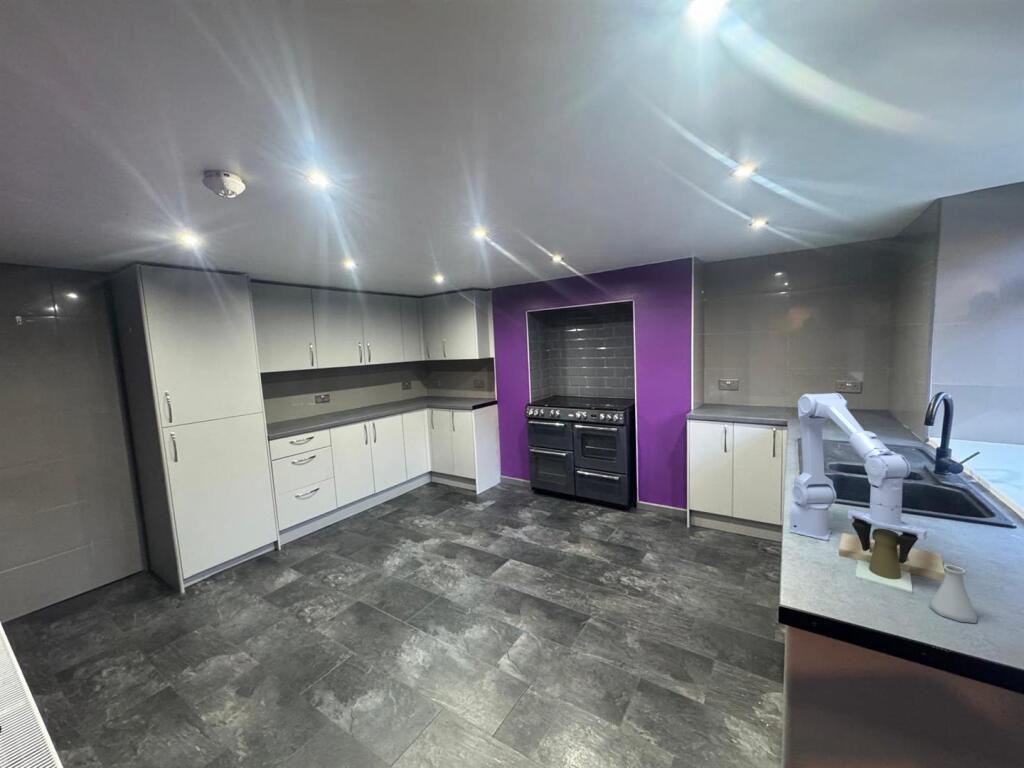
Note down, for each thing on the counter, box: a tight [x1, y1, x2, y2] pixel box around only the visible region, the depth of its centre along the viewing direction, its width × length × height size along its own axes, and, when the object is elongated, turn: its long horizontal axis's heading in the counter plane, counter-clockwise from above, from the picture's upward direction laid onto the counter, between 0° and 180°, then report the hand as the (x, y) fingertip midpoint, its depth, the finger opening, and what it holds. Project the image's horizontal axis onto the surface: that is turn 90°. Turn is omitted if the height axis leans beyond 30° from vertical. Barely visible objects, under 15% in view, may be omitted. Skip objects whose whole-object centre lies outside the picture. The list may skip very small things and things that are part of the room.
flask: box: [928, 564, 978, 624], centre depth 86 cm, size 7×7×10 cm
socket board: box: [838, 532, 946, 582], centre depth 108 cm, size 20×12×2 cm, turn 47°
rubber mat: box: [855, 560, 913, 594], centre depth 100 cm, size 10×10×1 cm
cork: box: [869, 527, 901, 579], centre depth 100 cm, size 6×6×11 cm
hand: (883, 555), depth 100 cm, fingers open, 6 cm apart
